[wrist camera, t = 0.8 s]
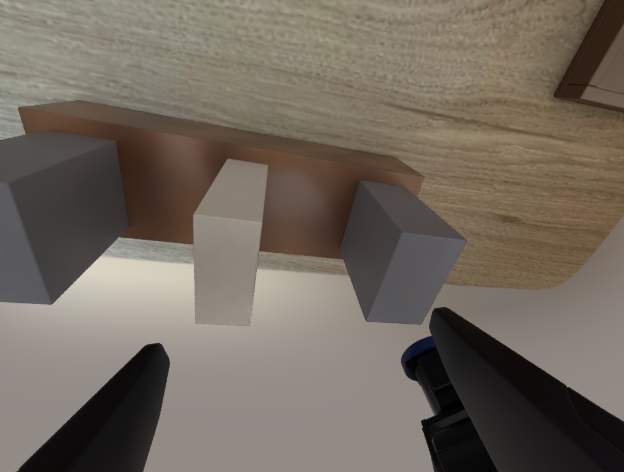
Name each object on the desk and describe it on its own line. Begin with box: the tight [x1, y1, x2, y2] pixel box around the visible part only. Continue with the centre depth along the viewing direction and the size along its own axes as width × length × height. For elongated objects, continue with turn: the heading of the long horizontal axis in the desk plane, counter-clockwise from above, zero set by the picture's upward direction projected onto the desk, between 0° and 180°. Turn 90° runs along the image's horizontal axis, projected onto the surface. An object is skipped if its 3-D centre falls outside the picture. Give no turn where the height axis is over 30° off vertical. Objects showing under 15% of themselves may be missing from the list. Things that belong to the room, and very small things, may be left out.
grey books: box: [0, 130, 467, 324], centre depth 13 cm, size 19×5×6 cm, turn 79°
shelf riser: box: [18, 100, 424, 259], centre depth 18 cm, size 21×7×4 cm, turn 79°
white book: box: [193, 159, 268, 326], centre depth 13 cm, size 2×5×7 cm, turn 169°
